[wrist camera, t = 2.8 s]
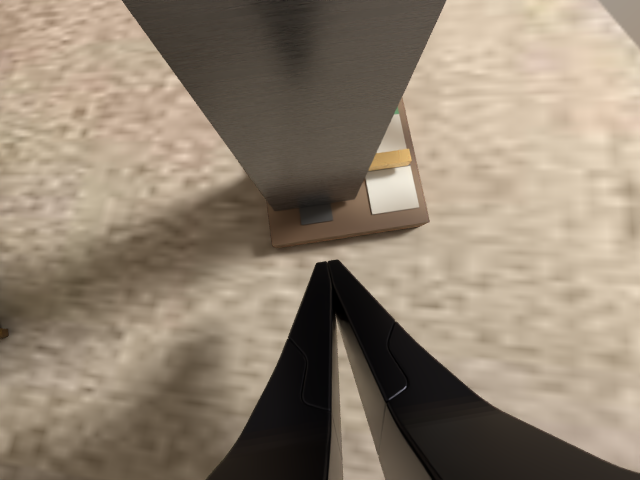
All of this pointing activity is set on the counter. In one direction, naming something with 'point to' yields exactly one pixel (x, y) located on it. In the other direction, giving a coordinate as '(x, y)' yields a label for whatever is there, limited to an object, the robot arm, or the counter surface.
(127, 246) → the counter surface
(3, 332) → the rolling pin
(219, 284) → the counter surface
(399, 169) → the board
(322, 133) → the grey square pillar
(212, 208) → the counter surface
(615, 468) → the robot arm
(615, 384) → the counter surface
